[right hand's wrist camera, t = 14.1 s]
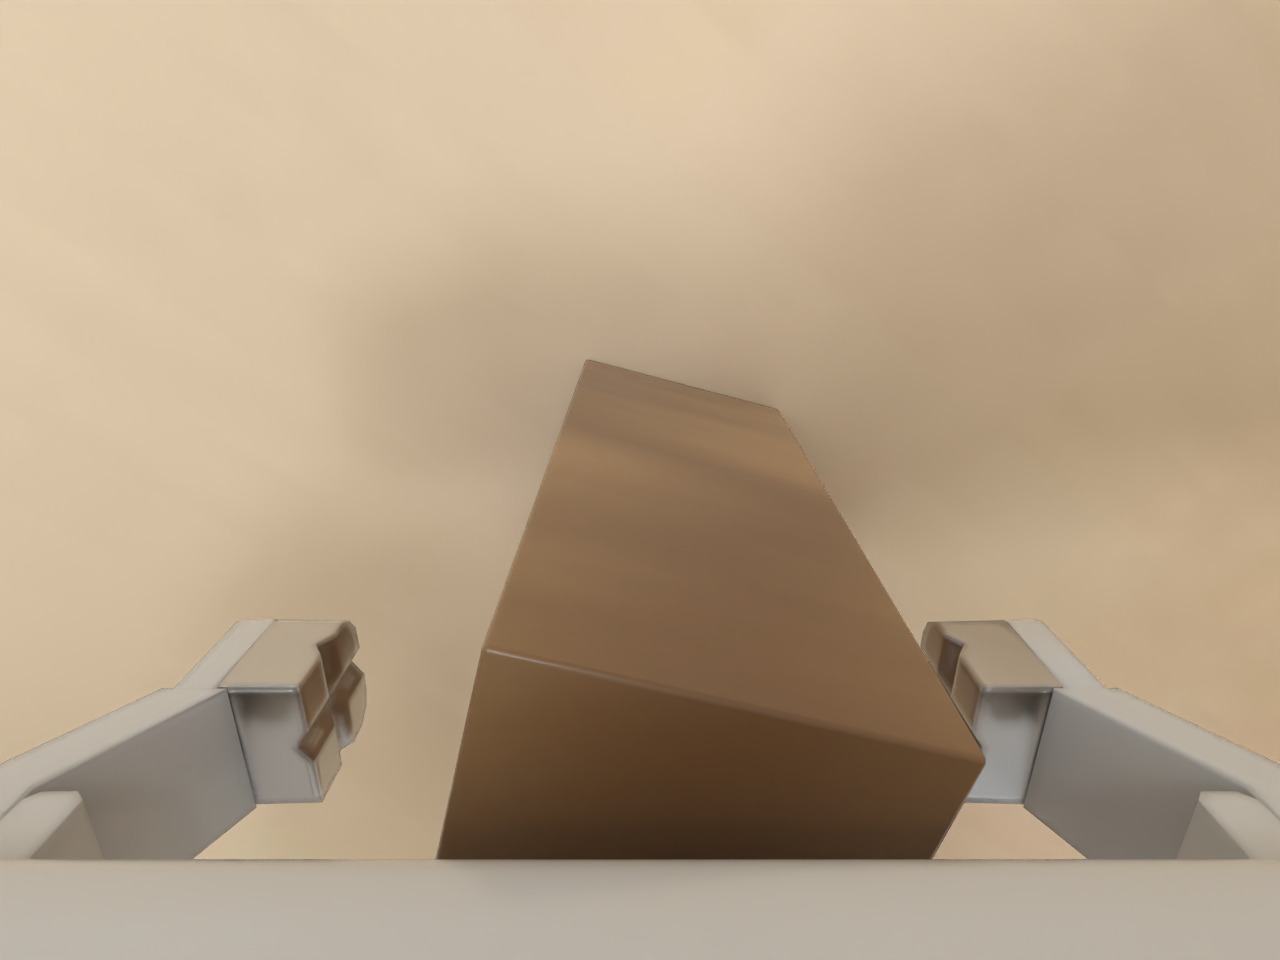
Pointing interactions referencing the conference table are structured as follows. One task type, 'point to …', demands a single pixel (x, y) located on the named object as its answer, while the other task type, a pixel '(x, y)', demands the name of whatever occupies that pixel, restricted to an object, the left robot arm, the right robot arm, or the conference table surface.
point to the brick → (698, 658)
